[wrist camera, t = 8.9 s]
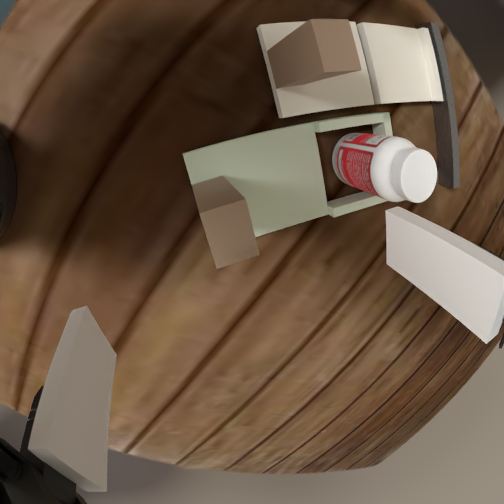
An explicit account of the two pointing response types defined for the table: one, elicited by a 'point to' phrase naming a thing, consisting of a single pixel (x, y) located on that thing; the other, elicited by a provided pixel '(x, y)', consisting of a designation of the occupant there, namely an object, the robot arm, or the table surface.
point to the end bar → (444, 116)
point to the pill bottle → (385, 167)
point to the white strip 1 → (315, 66)
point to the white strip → (400, 63)
